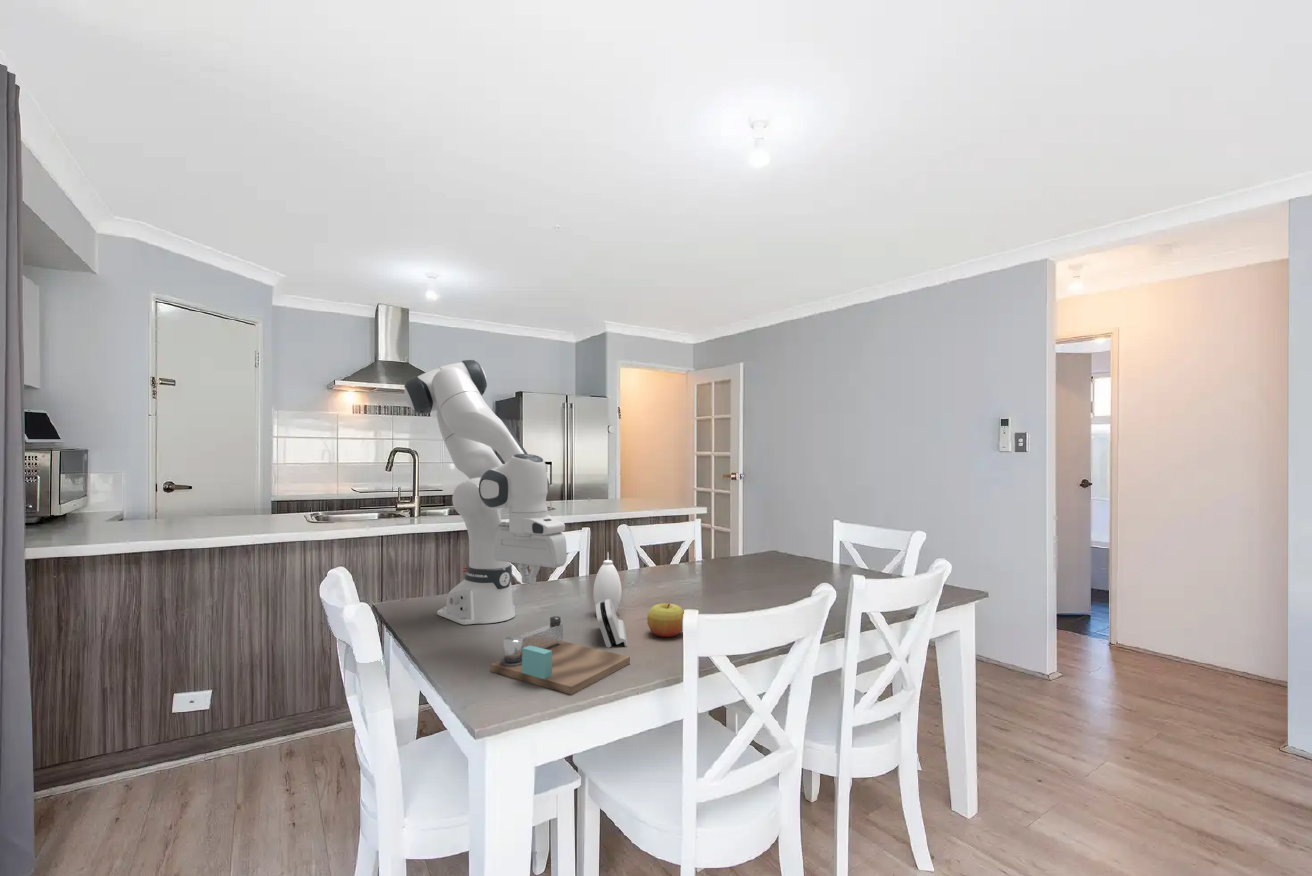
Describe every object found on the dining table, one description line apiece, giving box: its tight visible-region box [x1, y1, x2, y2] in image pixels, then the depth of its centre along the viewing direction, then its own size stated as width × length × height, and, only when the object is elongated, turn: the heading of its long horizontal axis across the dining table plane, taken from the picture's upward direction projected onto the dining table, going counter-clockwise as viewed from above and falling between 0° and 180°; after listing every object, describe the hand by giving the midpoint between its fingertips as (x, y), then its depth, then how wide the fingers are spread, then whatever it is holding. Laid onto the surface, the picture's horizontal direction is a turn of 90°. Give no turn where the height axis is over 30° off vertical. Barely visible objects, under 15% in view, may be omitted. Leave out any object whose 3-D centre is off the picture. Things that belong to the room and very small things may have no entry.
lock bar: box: [502, 615, 564, 662], centre depth 135 cm, size 17×4×6 cm, turn 148°
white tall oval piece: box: [592, 551, 622, 612], centre depth 172 cm, size 8×8×18 cm
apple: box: [646, 602, 685, 638], centre depth 155 cm, size 10×10×8 cm
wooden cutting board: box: [490, 641, 631, 696], centre depth 131 cm, size 22×20×2 cm
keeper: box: [522, 646, 552, 679], centre depth 123 cm, size 6×2×5 cm, turn 58°
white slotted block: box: [595, 599, 628, 648], centre depth 152 cm, size 17×5×10 cm, turn 5°
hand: (528, 583), depth 141 cm, fingers closed
